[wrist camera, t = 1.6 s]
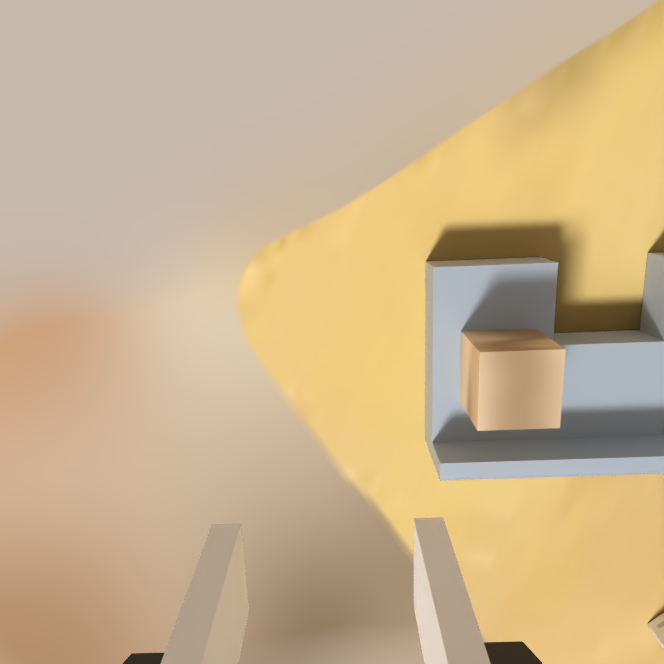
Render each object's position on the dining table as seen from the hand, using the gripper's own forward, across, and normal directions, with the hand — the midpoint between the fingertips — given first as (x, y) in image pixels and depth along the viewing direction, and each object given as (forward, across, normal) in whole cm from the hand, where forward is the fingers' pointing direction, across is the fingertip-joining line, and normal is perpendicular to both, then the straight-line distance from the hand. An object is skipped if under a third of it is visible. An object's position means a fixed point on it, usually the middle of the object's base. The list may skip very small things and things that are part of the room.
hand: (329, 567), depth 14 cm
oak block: (+16, -9, 0) cm, 19 cm away
